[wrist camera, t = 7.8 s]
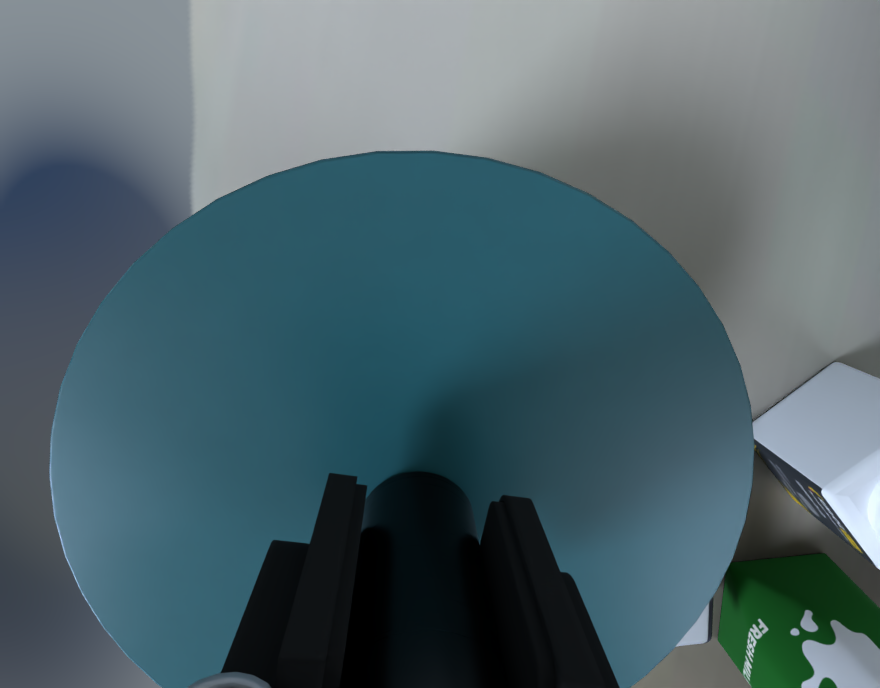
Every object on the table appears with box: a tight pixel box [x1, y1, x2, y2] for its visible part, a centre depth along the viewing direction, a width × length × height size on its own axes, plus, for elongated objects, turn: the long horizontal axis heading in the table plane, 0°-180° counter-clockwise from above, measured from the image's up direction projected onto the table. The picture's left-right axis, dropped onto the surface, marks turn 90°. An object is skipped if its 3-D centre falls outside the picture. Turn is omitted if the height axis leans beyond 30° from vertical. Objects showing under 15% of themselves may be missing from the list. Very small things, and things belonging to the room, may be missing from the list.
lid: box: [49, 151, 754, 688], centre depth 9 cm, size 15×15×6 cm
